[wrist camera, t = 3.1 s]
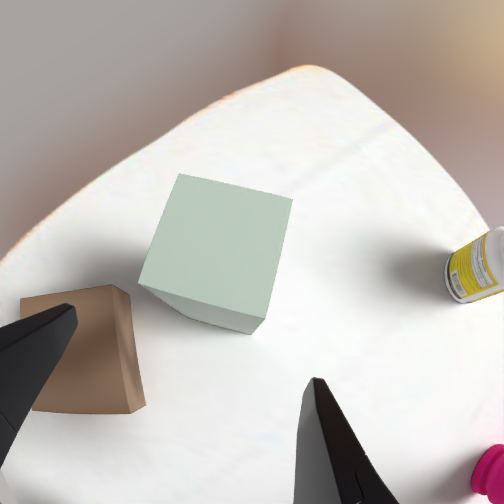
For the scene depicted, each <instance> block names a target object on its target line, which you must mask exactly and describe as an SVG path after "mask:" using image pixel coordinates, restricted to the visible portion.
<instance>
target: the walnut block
mask: <svg viewBox="0 0 504 504" xmlns="http://www.w3.org/2000/svg"><path fill="white" fill-rule="evenodd" d="M63 303H69V304H72V305H74V306H75V308H76V313H77V318H78V326H77V329H76V330H75V332H74V334H73V336H72V338H71V340H70V342H69V344H68V346H67V348H66V350H65V352H64V354H63V356H62V357H61V359H60V361H59V362H58V364H57V365H56V367H55V369H54V370H53V372H52V373H51V375H50V377H49V378H48V380H47V382H46V383H45V385H44V387H43V388H42V390H41V392H40V393H39V395H38V397H37V399H36V400H35V402H34V404H33V406H32V411H42V412H54V413H71V414H131V413H133V412H135V411H137V410H138V409H140V408H142V407H144V406H146V402H145V397H144V392H143V387H142V382H141V376H140V371H139V365H138V359H137V353H136V346H135V339H134V332H133V324H132V315H131V306H130V296H129V294H127V293H126V292H124V291H122V290H121V289H119V288H117V287H115V286H114V285H106V286H99V287H93V288H87V289H80V290H74V291H68V292H61V293H55V294H48V295H42V296H35V297H28V298H22V299H20V311H21V319H24V318H26V317H29V316H31V315H34V314H37V313H39V312H42V311H44V310H47V309H50V308H52V307H55V306H57V305H60V304H63Z"/></svg>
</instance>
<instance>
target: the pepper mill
mask: <svg viewBox="0 0 504 504" xmlns="http://www.w3.org/2000/svg"><path fill="white" fill-rule="evenodd" d="M471 487H472V490H473V491H474V492H476V493H479V494H481V495H487V496H488V499H489V501H490V502H491V503H492V504H504V445H503V444H497V445H495V446H493V447H492V448H490V449H489V450H488V451H487V452H486V453H485V454H484V455H483V457H482V458H481V459H480V461H479V462H478V464H477V466H476V468H475V470H474V473H473V476H472V480H471Z"/></svg>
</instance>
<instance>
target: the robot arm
mask: <svg viewBox="0 0 504 504" xmlns="http://www.w3.org/2000/svg"><path fill="white" fill-rule="evenodd" d="M77 326H78V318H77V313H76V308H75V306H74V305H72V304H69V303H63V304H60V305H57V306H55V307H52V308H50V309H47V310H44V311H42V312H39V313H37V314H34V315H31V316H29V317H26V318H24V319H21V320H19V321H16V322H13V323H11V324H8V325H6V326H3V327H1V328H0V468H1V466H2V464H3V462H4V460H5V458H6V456H7V454H8V451H9V449H10V447H11V445H12V443H13V441H14V439H15V437H16V435H17V433H18V431H19V429H20V428H21V426H22V424H23V422H24V420H25V418H26V416H27V414H28V413H29V411H30V409H31V407H32V406H33V404H34V402H35V400H36V399H37V397H38V395H39V393H40V392H41V390H42V388H43V387H44V385H45V383H46V382H47V380H48V378H49V377H50V375H51V373H52V372H53V370H54V369H55V367H56V365H57V364H58V362H59V361H60V359H61V357H62V356H63V354H64V352H65V350H66V348H67V346H68V344H69V342H70V340H71V338H72V336H73V334H74V332H75V330H76V329H77ZM0 504H2V503H0ZM293 504H399V503H398V501H397V500H396V499H395V497H394V496H393V495H392V493H391V492H390V490H389V489H388V488H387V486H386V485H385V484H384V482H383V481H382V479H381V478H380V477H379V475H378V474H377V472H376V470H375V469H374V467H373V465H372V464H371V462H370V460H369V458H368V457H367V455H365V451H364V450H363V448H362V446H361V444H360V443H359V441H358V439H357V437H356V435H355V434H354V432H353V430H352V428H351V426H350V425H349V423H348V421H347V419H346V418H345V416H344V414H343V412H342V410H341V409H340V407H339V405H338V403H337V401H336V400H335V398H334V396H333V394H332V392H331V391H330V389H329V387H328V385H327V384H326V382H325V380H324V379H322V378H316V377H313V378H311V380H310V382H309V383H308V385H307V387H306V389H305V391H304V393H303V398H302V405H301V411H300V418H299V424H298V431H297V446H296V468H295V486H294V501H293Z"/></svg>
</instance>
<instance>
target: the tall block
mask: <svg viewBox="0 0 504 504" xmlns="http://www.w3.org/2000/svg"><path fill="white" fill-rule="evenodd" d="M292 201H293V199H290V198H286V197H282V196H278V195H274V194H270V193H266V192H262V191H257V190H253V189H249V188H245V187H240V186H236V185H231V184H227V183H222V182H218V181H213V180H208V179H203V178H199V177H194V176H189V175H184V174H179V175H178V177H177V180H176V182H175V184H174V187H173V189H172V191H171V194H170V196H169V199H168V201H167V204H166V206H165V209H164V211H163V214H162V216H161V219H160V221H159V224H158V227H157V229H156V232H155V235H154V237H153V240H152V243H151V246H150V248H149V251H148V254H147V257H146V260H145V263H144V265H143V268H142V271H141V274H140V277H139V280H138V284H140V285H141V286H143V287H144V288H145V289H147V290H148V291H150V292H151V293H152V294H154V295H155V296H157V297H158V298H160V299H161V300H162V301H164V302H165V303H167V304H168V305H170V306H171V307H173V308H174V309H176V310H177V311H179V312H180V313H182V314H183V315H185V316H186V317H188V318H191V319H194V320H198V321H201V322H205V323H209V324H212V325H216V326H220V327H223V328H227V329H231V330H235V331H239V332H242V333H246V334H250V335H252V333H253V332H254V331H255V330H256V329H257V328H258V327H259V325H260V324H261V323H262V322H263V321H264V320H265V318H266V314H267V310H268V306H269V302H270V297H271V293H272V289H273V285H274V281H275V276H276V272H277V268H278V263H279V259H280V255H281V250H282V246H283V241H284V237H285V232H286V228H287V223H288V219H289V214H290V210H291V205H292Z"/></svg>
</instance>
